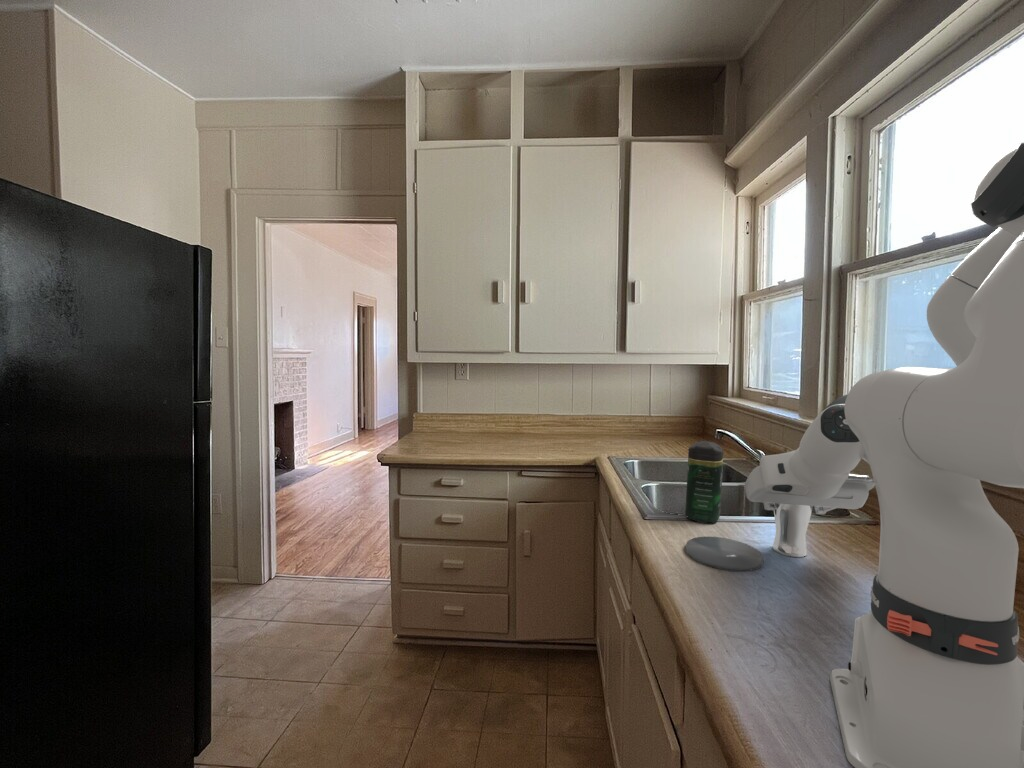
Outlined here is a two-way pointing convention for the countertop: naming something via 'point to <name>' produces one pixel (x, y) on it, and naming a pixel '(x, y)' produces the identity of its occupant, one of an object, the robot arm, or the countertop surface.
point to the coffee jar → (704, 481)
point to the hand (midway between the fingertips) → (793, 508)
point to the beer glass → (791, 529)
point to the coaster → (724, 553)
